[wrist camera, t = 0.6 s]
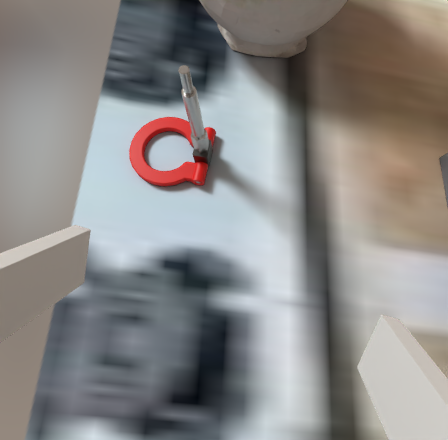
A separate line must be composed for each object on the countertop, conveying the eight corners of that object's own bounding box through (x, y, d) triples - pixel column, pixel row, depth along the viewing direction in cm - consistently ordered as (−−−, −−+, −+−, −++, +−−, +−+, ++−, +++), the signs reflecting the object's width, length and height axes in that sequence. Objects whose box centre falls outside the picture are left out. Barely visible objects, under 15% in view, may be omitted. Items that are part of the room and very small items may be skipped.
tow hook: (123, 181, 31) (203, 194, 31) (50, 103, 19) (180, 122, 18) (143, 118, 34) (218, 129, 33) (89, 12, 21) (207, 24, 20)
